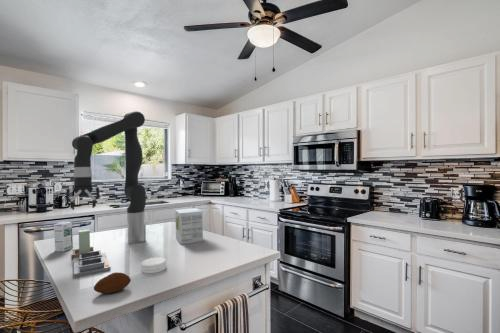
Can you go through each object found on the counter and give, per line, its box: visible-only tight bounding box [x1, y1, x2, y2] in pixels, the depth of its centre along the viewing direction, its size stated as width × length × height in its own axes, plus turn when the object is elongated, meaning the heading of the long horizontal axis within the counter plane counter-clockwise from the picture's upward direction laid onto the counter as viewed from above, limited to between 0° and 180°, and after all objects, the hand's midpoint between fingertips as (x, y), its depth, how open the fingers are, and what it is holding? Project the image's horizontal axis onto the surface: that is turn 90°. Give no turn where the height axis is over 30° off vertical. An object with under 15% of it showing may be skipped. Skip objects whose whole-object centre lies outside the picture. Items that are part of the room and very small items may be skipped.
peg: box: [78, 228, 91, 254], centre depth 135 cm, size 5×5×12 cm
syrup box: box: [53, 221, 74, 252], centre depth 143 cm, size 6×6×14 cm
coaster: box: [140, 256, 167, 274], centre depth 114 cm, size 10×10×4 cm
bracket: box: [72, 246, 94, 260], centre depth 134 cm, size 9×10×2 cm
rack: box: [73, 250, 112, 278], centre depth 119 cm, size 13×22×4 cm, turn 33°
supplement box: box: [174, 207, 204, 245], centre depth 157 cm, size 13×13×18 cm
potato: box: [93, 272, 132, 294], centre depth 94 cm, size 6×12×6 cm, turn 123°
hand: (83, 208), depth 135 cm, fingers open, 8 cm apart
